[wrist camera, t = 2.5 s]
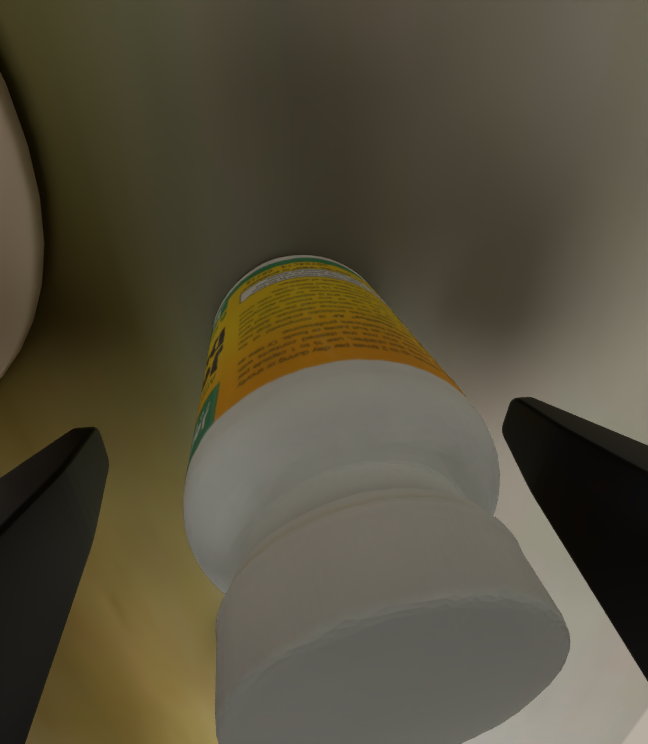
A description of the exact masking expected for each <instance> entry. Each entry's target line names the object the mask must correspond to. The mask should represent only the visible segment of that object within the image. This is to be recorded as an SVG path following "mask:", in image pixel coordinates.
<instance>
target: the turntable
mask: <svg viewBox="0 0 648 744" xmlns="http://www.w3.org/2000/svg"><path fill="white" fill-rule="evenodd" d="M43 258H44V235H43V225H42V214H41V204H40V196H39V191H38V187H37V183H36V179H35V174H34V170H33V166H32V161H31V157H30V153H29V148H28V144H27V141H26V139H25V136H24V133H23V130H22V127H21V125H20V122H19V119H18V116H17V113H16V111H15V108H14V105H13V102H12V99H11V97H10V94H9V91H8V88H7V85H6V83H5V81H4V79H3V77H2V75H1V73H0V379H1V378H2V377H3V376H4V374H5V373H6V371H7V370H8V368H9V367H10V365H11V364H12V362H13V361H14V359H15V358H16V356H17V355H18V353H19V352H20V350H21V348H22V346H23V344H24V341H25V339H26V337H27V334H28V332H29V330H30V327H31V325H32V323H33V321H34V317H35V313H36V308H37V304H38V300H39V295H40V291H41V287H42V276H43Z"/></svg>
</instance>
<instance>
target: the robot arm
mask: <svg viewBox="0 0 648 744" xmlns="http://www.w3.org/2000/svg"><path fill="white" fill-rule="evenodd" d="M502 433H503V436H504V438H505V440H506V443H507V445H508V447H509V449H510V451H511V453H512V455H513V457H514V459H515V461H516V463H517V465H518V467H519V469H520V471H521V473H522V475H523V477H524V479H525V481H526V483H527V485H528V487H529V489H530V491H531V493H532V495H533V496H534V498H535V500H536V501H537V503H538V505H539V506H540V508H541V509H542V511H543V513H544V514H545V516H546V518H547V519H548V521H549V522H550V524H551V526H552V527H553V529H554V530H555V532H556V534H557V535H558V537H559V539H560V540H561V542H562V543H563V545H564V547H565V548H566V550H567V552H568V553H569V555H570V556H571V558H572V560H573V561H574V563H575V564H576V566H577V568H578V569H579V571H580V573H581V574H582V576H583V577H584V579H585V581H586V582H587V584H588V585H589V587H590V589H591V590H592V592H593V594H594V595H595V597H596V598H597V600H598V602H599V603H600V605H601V607H602V608H603V610H604V611H605V613H606V615H607V616H608V618H609V619H610V621H611V623H612V624H613V626H614V628H615V629H616V631H617V632H618V634H619V636H620V637H621V639H622V641H623V642H624V644H625V645H626V647H627V649H628V650H629V652H630V653H631V655H632V657H633V658H634V660H635V662H636V663H637V665H638V666H639V668H640V670H641V671H642V673H643V675H644V676H645V678H646V679H647V681H648V445H646V444H643V443H641V442H638V441H636V440H633V439H631V438H629V437H626V436H624V435H621V434H619V433H617V432H614V431H612V430H609V429H607V428H605V427H602V426H600V425H597V424H595V423H593V422H590V421H588V420H585V419H583V418H581V417H578V416H576V415H573V414H571V413H569V412H566V411H564V410H561V409H559V408H556V407H554V406H552V405H549V404H547V403H544V402H542V401H540V400H537V399H535V398H532V397H521V398H515V399H513V400H512V401H511V402H510V404H509V407H508V410H507V413H506V416H505V419H504V422H503V426H502ZM108 469H109V461H108V456H107V453H106V450H105V446H104V443H103V440H102V437H101V434H100V431H99V430H98V429H97V428H95V427H83V428H74V429H72V430H70V431H69V432H67V433H66V434H64V435H63V436H61V437H60V438H58V439H57V440H55V441H54V442H53V443H51V444H50V445H48V446H47V447H45V448H44V449H42V450H41V451H39V452H38V453H36V454H35V455H33V456H32V457H30V458H29V459H28V460H26V461H25V462H23V463H22V464H20V465H19V466H17V467H16V468H14V469H13V470H11V471H10V472H8V473H7V474H5V475H4V476H3V477H1V478H0V744H25V742H26V739H27V736H28V733H29V730H30V727H31V724H32V721H33V718H34V715H35V712H36V710H37V707H38V704H39V701H40V698H41V695H42V692H43V689H44V686H45V683H46V680H47V677H48V674H49V671H50V668H51V665H52V662H53V659H54V656H55V653H56V650H57V647H58V644H59V641H60V638H61V636H62V633H63V630H64V627H65V624H66V621H67V618H68V615H69V612H70V609H71V606H72V603H73V600H74V597H75V594H76V591H77V588H78V585H79V582H80V579H81V576H82V573H83V570H84V567H85V564H86V562H87V559H88V556H89V553H90V549H91V546H92V543H93V539H94V535H95V531H96V527H97V522H98V517H99V512H100V508H101V503H102V498H103V493H104V488H105V484H106V479H107V474H108Z"/></svg>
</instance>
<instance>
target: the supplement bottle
mask: <svg viewBox="0 0 648 744" xmlns="http://www.w3.org/2000/svg"><path fill="white" fill-rule="evenodd" d="M499 486H500V471H499V462H498V456H497V452H496V448H495V445H494V442H493V439H492V437H491V435H490V433H489V430H488V428H487V426H486V425H485V423H484V421H483V419H482V418H481V416H480V415H479V414H478V412H477V411H476V409H475V408H474V406H473V405H472V404H471V403H470V401H469V400H468V399H467V398H466V396H465V395H464V394H463V392H462V391H461V390H460V388H459V387H458V386H457V385H456V384H455V382H454V381H453V380H452V379H451V378H450V377H449V376H448V375H447V374H446V373H445V372H444V370H443V369H442V368H441V367H440V366H439V365H438V363H437V362H436V361H435V360H434V359H433V358H432V356H431V355H430V354H429V353H428V352H427V351H426V350H425V349H424V347H423V346H422V345H421V344H420V343H419V342H418V341H417V340H416V338H415V337H414V336H413V335H412V334H411V333H410V331H409V330H408V329H407V328H406V327H405V326H404V324H403V323H402V322H401V321H400V320H399V319H398V317H397V316H396V315H395V314H394V313H393V311H392V310H391V309H390V308H389V306H388V305H387V304H386V303H385V302H384V301H383V300H382V299H381V297H380V296H379V295H378V294H377V293H376V291H375V290H374V289H373V288H372V287H371V286H370V285H369V284H368V283H367V282H366V281H365V280H364V279H363V278H362V277H361V276H360V275H358V274H357V273H356V272H355V271H353V270H352V269H350V268H348V267H347V266H345V265H343V264H341V263H339V262H337V261H334V260H331V259H328V258H324V257H319V256H312V255H292V256H286V257H281V258H276V259H273V260H270V261H268V262H265V263H263V264H261V265H259V266H258V267H256V268H255V269H253V270H252V271H250V272H249V273H247V274H246V275H245V276H244V277H243V278H242V279H240V280H239V281H238V282H237V283H236V284H235V286H234V287H233V288H232V289H231V290H230V291H229V292H228V294H227V295H226V297H225V298H224V300H223V301H222V303H221V305H220V307H219V310H218V312H217V314H216V317H215V320H214V324H213V329H212V334H211V340H210V346H209V352H208V358H207V364H206V371H205V375H204V381H203V387H202V394H201V398H200V403H199V409H198V414H197V419H196V425H195V431H194V436H193V441H192V446H191V453H190V458H189V464H188V468H187V473H186V481H185V489H184V499H183V513H184V526H185V530H186V534H187V539H188V542H189V545H190V547H191V550H192V552H193V554H194V556H195V558H196V560H197V562H198V564H199V566H200V567H201V569H202V571H203V572H204V573H205V574H206V576H207V577H208V578H209V579H210V580H211V581H212V582H213V584H214V585H215V586H216V587H217V588H218V589H220V590H221V591H222V592H223V593H224V594H225V596H224V598H223V600H222V603H221V605H220V608H219V611H218V614H217V620H216V640H217V647H216V693H215V719H216V736H217V739H218V742H219V744H461V743H463V742H465V741H468V740H470V739H472V738H474V737H476V736H478V735H480V734H482V733H484V732H486V731H488V730H490V729H492V728H494V727H496V726H498V725H500V724H501V723H503V722H504V721H506V720H507V719H509V718H510V717H512V716H513V715H515V714H516V713H518V712H519V711H520V710H522V709H523V708H524V707H525V706H526V705H528V704H529V703H530V702H531V701H532V700H534V699H535V698H536V697H537V696H538V695H539V694H540V693H541V692H542V691H543V690H544V689H545V688H546V687H547V686H549V685H550V683H551V682H552V681H553V680H554V678H555V677H556V676H557V674H558V673H559V672H560V671H561V669H562V667H563V665H564V663H565V662H566V659H567V656H568V653H569V649H570V636H569V631H568V628H567V626H566V623H565V621H564V619H563V616H562V614H561V613H560V611H559V609H558V608H557V606H556V605H555V603H554V601H553V600H552V598H551V597H550V595H549V594H548V592H547V590H546V589H545V587H544V586H543V584H542V583H541V581H540V579H539V578H538V576H537V575H536V573H535V572H534V570H533V568H532V567H531V565H530V564H529V562H528V561H527V559H526V557H525V556H524V554H523V553H522V550H521V548H520V546H519V544H518V541H517V540H516V538H515V537H514V535H513V534H512V533H511V532H510V530H509V529H508V528H507V527H506V526H505V525H504V524H503V523H502V522H501V521H500V520H498V519H497V518H496V517H494V516H493V515H494V512H495V509H496V505H497V501H498V495H499Z"/></svg>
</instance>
